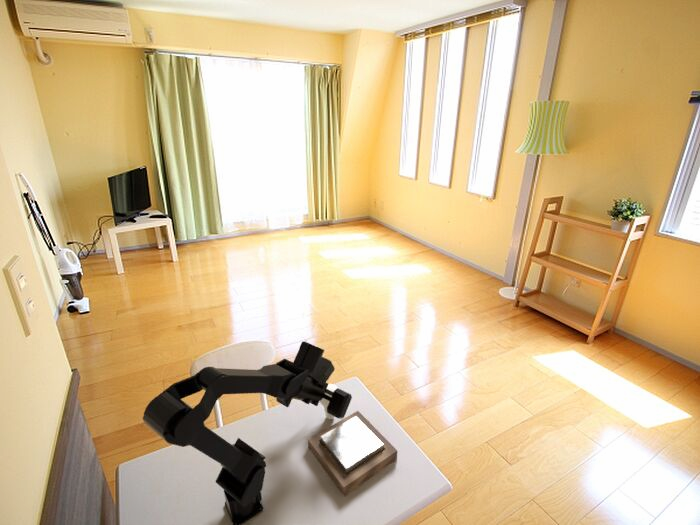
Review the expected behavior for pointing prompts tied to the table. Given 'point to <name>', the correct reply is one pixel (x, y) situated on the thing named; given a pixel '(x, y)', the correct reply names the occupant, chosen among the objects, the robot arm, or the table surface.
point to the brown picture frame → (361, 473)
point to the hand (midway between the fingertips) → (331, 395)
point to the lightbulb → (326, 402)
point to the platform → (351, 444)
